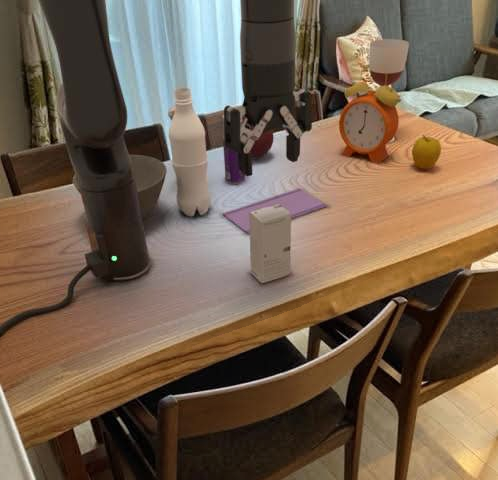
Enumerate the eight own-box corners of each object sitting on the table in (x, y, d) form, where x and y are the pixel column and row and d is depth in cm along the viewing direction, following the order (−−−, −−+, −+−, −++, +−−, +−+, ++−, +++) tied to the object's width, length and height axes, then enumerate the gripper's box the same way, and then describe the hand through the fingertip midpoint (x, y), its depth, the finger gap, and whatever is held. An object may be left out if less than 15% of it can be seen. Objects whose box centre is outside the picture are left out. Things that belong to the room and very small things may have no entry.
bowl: (89, 200, 122) (79, 157, 115) (173, 194, 122) (167, 151, 116) (76, 243, 107) (64, 197, 101) (171, 235, 108) (165, 189, 102)
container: (243, 185, 125) (240, 119, 116) (223, 183, 126) (219, 119, 116) (247, 176, 129) (244, 112, 119) (228, 175, 129) (224, 111, 120)
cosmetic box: (261, 284, 94) (260, 223, 86) (249, 272, 97) (247, 211, 89) (291, 274, 96) (293, 213, 89) (278, 262, 99) (279, 202, 92)
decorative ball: (232, 151, 141) (229, 112, 134) (269, 147, 142) (269, 108, 136) (237, 166, 133) (235, 126, 127) (277, 162, 134) (277, 122, 128)
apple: (404, 164, 131) (409, 132, 126) (428, 161, 132) (434, 128, 127) (417, 175, 126) (423, 141, 121) (442, 171, 127) (449, 138, 122)
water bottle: (194, 200, 120) (182, 81, 104) (218, 209, 116) (209, 87, 100) (171, 212, 116) (154, 91, 100) (195, 222, 112) (182, 98, 96)
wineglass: (401, 134, 146) (414, 40, 132) (387, 146, 140) (400, 50, 125) (369, 128, 150) (379, 37, 136) (354, 140, 144) (363, 46, 129)
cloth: (247, 234, 108) (247, 232, 107) (222, 214, 114) (222, 213, 114) (326, 206, 116) (326, 205, 115) (298, 190, 122) (299, 188, 122)
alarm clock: (335, 153, 137) (341, 70, 125) (347, 146, 141) (354, 64, 128) (383, 165, 131) (394, 78, 118) (394, 156, 135) (406, 71, 122)
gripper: (293, 41, 79) (292, 148, 89) (209, 58, 73) (218, 170, 84) (326, 51, 74) (320, 163, 84) (238, 70, 69) (243, 188, 79)
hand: (269, 167), depth 84 cm, fingers open, 8 cm apart
